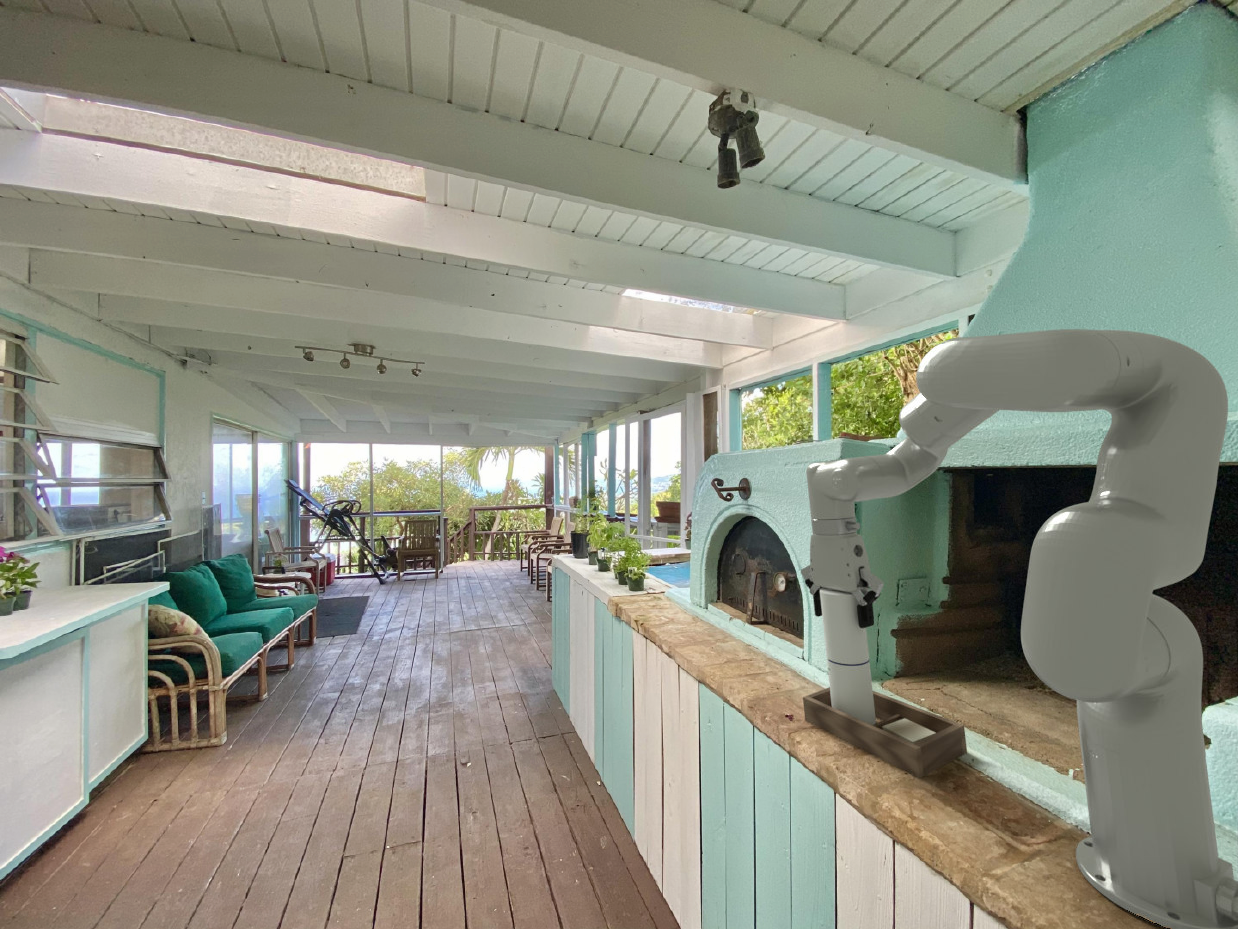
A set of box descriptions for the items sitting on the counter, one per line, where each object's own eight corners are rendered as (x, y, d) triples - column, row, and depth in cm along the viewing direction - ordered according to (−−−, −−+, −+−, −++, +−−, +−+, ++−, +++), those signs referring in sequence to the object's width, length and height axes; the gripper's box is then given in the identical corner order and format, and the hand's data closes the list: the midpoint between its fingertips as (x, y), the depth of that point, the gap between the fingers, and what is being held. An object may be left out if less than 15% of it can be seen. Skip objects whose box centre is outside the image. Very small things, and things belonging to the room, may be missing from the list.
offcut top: (937, 743, 79) (936, 733, 79) (914, 752, 77) (913, 741, 77) (905, 727, 85) (904, 718, 85) (883, 736, 83) (882, 726, 83)
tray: (967, 757, 79) (964, 725, 79) (919, 783, 73) (916, 749, 74) (849, 706, 98) (847, 680, 99) (805, 724, 93) (802, 697, 93)
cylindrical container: (852, 741, 86) (837, 597, 87) (825, 723, 93) (811, 589, 94) (886, 732, 88) (871, 591, 89) (857, 715, 95) (843, 584, 96)
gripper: (890, 527, 86) (901, 627, 85) (811, 523, 101) (820, 607, 101) (860, 532, 82) (871, 636, 82) (784, 527, 98) (793, 615, 97)
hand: (843, 620), depth 91 cm, fingers open, 9 cm apart
